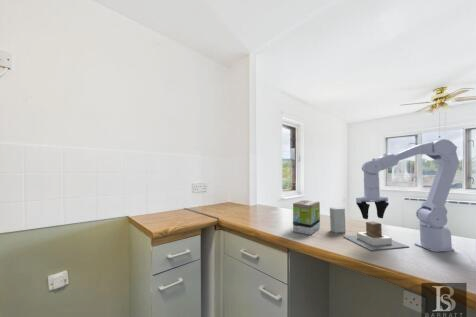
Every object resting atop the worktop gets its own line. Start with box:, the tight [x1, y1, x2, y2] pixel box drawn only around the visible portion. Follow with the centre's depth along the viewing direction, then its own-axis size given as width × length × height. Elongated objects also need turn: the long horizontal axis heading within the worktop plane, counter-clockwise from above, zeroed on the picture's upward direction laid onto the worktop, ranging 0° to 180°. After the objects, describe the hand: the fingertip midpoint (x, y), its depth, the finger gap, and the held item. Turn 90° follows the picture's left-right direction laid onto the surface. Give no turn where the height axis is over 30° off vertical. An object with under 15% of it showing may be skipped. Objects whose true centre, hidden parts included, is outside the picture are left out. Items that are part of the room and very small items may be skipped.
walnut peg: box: [365, 221, 383, 238], centre depth 89 cm, size 4×4×8 cm
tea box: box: [292, 199, 321, 236], centre depth 108 cm, size 15×10×15 cm, turn 143°
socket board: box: [342, 231, 410, 252], centre depth 89 cm, size 18×16×3 cm
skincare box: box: [329, 206, 347, 234], centre depth 104 cm, size 6×4×12 cm
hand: (372, 218), depth 89 cm, fingers open, 7 cm apart
